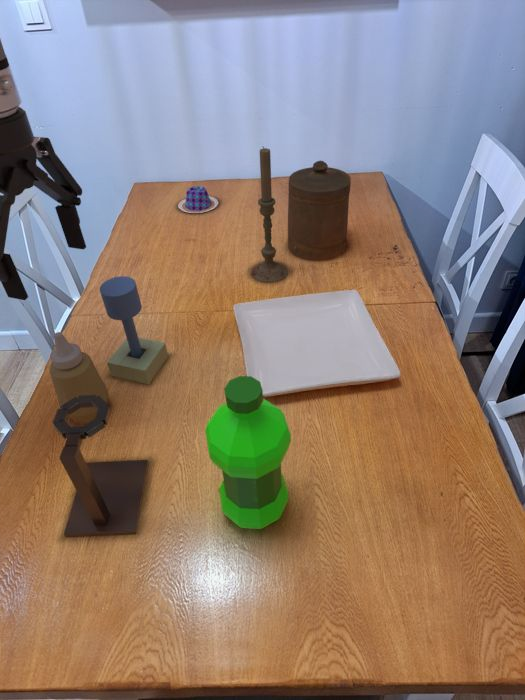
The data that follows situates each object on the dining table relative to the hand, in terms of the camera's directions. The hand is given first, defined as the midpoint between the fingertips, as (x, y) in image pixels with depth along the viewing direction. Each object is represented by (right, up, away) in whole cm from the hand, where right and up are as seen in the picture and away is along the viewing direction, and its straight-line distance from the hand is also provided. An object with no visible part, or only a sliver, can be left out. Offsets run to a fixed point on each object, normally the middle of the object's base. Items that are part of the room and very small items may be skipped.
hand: (50, 270), depth 70 cm
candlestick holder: (+32, +7, +48) cm, 58 cm away
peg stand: (+8, -34, +3) cm, 35 cm away
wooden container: (+44, +15, +56) cm, 73 cm away
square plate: (+40, -11, +27) cm, 49 cm away
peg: (+7, -15, +25) cm, 30 cm away
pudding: (+11, +32, +77) cm, 84 cm away
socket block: (+7, -15, +25) cm, 30 cm away
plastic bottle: (+29, -35, +1) cm, 45 cm away
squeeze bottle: (0, -23, +17) cm, 28 cm away
